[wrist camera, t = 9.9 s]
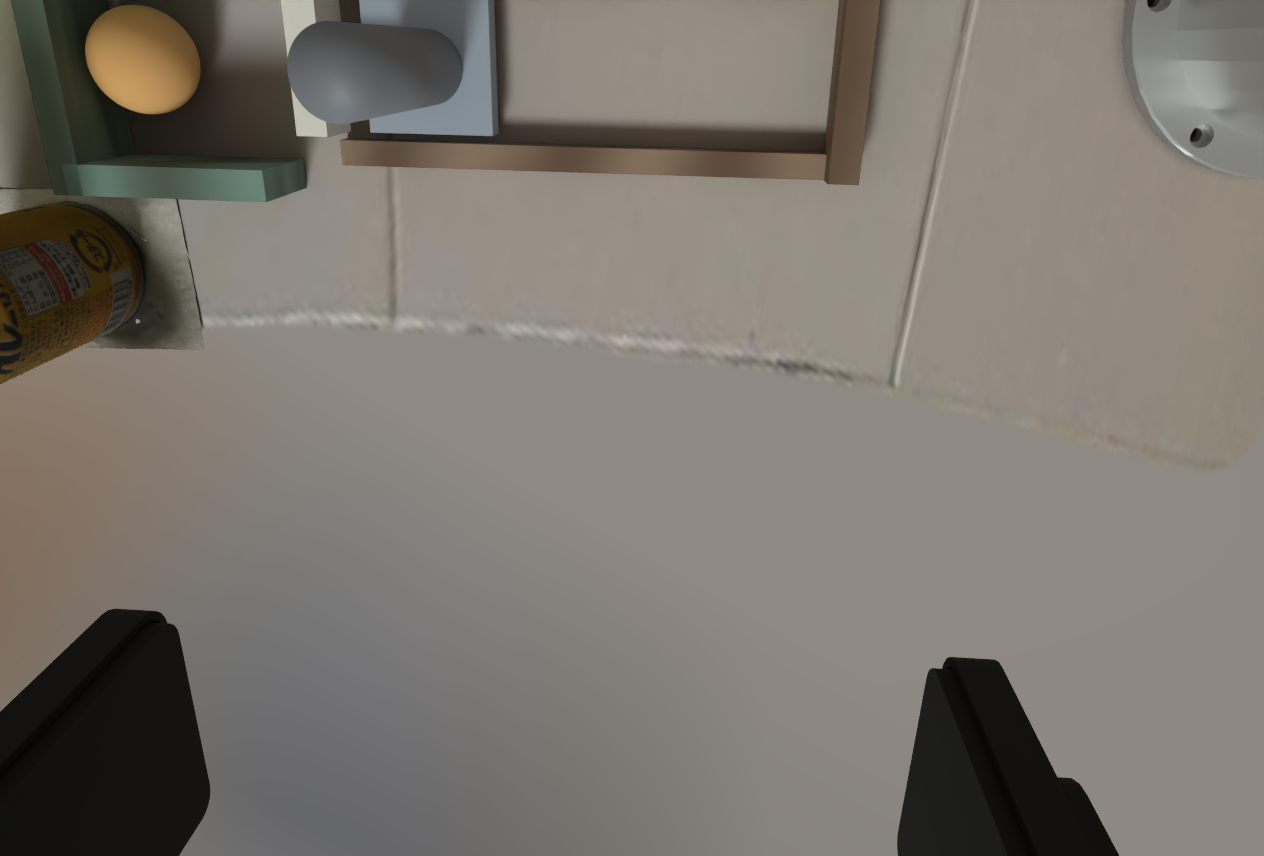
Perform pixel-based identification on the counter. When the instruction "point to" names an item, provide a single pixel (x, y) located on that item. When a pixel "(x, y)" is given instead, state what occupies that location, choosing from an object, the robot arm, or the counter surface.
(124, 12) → the ball
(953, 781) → the robot arm
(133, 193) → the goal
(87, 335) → the condiment
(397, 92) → the kicker
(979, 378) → the counter surface
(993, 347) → the counter surface
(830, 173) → the track
